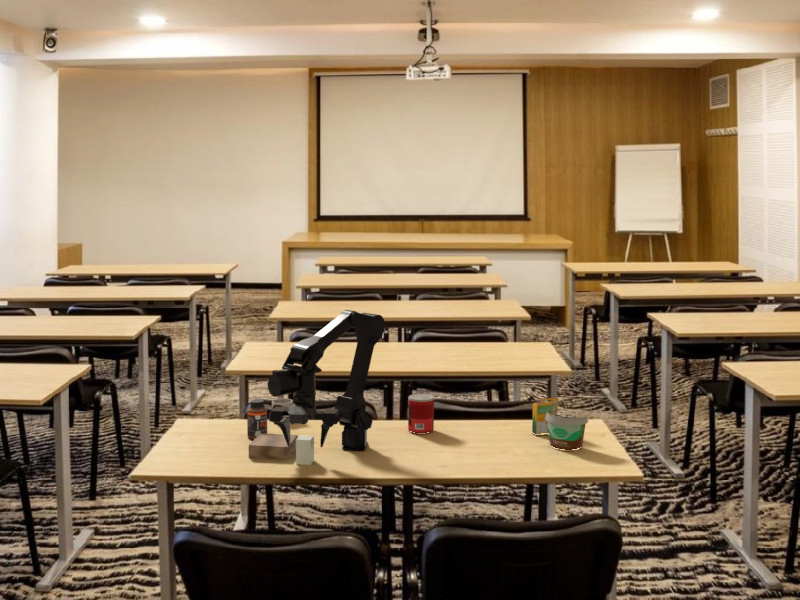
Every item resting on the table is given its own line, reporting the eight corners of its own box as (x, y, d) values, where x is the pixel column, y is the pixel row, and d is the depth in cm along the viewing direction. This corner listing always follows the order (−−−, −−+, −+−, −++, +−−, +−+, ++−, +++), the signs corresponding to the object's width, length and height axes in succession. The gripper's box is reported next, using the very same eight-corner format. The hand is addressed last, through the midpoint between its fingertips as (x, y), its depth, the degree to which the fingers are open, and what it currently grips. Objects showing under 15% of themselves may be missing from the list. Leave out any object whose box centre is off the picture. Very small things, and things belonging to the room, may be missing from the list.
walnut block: (297, 448, 227) (297, 435, 226) (287, 461, 216) (287, 447, 215) (260, 446, 228) (260, 433, 228) (248, 458, 217) (248, 445, 217)
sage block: (314, 460, 215) (313, 435, 214) (310, 465, 211) (310, 440, 210) (299, 459, 216) (299, 435, 215) (296, 464, 212) (295, 439, 211)
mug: (268, 423, 251) (268, 402, 250) (276, 417, 257) (276, 397, 256) (298, 425, 249) (298, 404, 248) (305, 419, 255) (305, 399, 254)
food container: (541, 449, 226) (542, 416, 225) (544, 443, 232) (545, 410, 230) (584, 454, 222) (585, 420, 220) (587, 448, 227) (588, 414, 226)
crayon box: (552, 431, 244) (553, 395, 242) (557, 434, 241) (558, 397, 239) (531, 433, 241) (532, 397, 240) (536, 436, 238) (537, 399, 237)
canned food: (438, 432, 242) (438, 397, 241) (417, 436, 238) (417, 401, 236) (424, 426, 249) (424, 392, 247) (403, 430, 244) (403, 395, 243)
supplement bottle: (263, 440, 232) (262, 403, 231) (244, 439, 234) (243, 402, 232) (270, 434, 238) (269, 398, 237) (252, 433, 239) (251, 397, 238)
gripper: (262, 396, 204) (263, 453, 206) (331, 399, 202) (332, 457, 204) (274, 386, 215) (275, 441, 217) (341, 388, 213) (341, 444, 215)
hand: (305, 446), depth 213 cm, fingers open, 9 cm apart
